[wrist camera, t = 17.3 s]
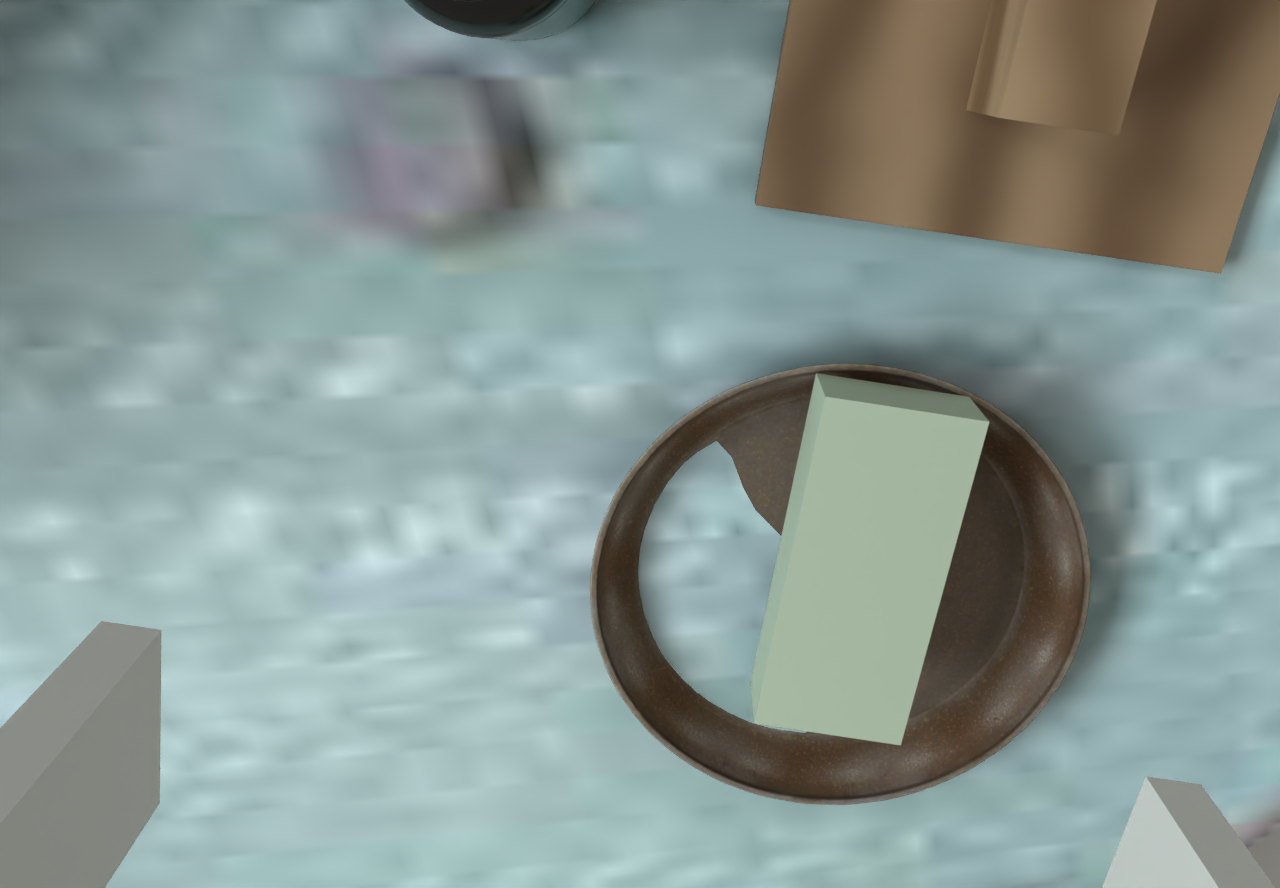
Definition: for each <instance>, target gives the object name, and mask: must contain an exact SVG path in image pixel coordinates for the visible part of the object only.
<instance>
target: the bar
mask: <svg viewBox="0 0 1280 888" xmlns="http://www.w3.org/2000/svg"><path fill="white" fill-rule="evenodd" d="M988 425H989V421H988V419H987V418H986V417H985V416H984V414H983V413H982V412H981V411H980V410H979V408H978V407H977V406H976V405H975V403H974V402H973V401H972V400H971V398H970V397H967V396H961V395H954V394H948V393H941V392H935V391H928V390H922V389H915V388H909V387H903V386H896V385H890V384H883V383H877V382H870V381H864V380H857V379H851V378H844V377H838V376H831V375H825V374H818V373H816V376H815V380H814V385H813V390H812V395H811V399H810V404H809V409H808V413H807V418H806V423H805V428H804V432H803V437H802V442H801V446H800V451H799V456H798V460H797V465H796V470H795V475H794V479H793V484H792V489H791V493H790V498H789V503H788V508H787V512H786V517H785V522H784V526H783V531H782V536H781V540H780V545H779V550H778V555H777V559H776V564H775V569H774V573H773V578H772V583H771V588H770V592H769V597H768V602H767V606H766V611H765V616H764V620H763V625H762V630H761V635H760V639H759V644H758V649H757V653H756V658H755V663H754V668H753V672H752V677H751V682H750V686H751V696H752V706H753V716H754V724H761V725H768V726H774V727H781V728H788V729H794V730H801V731H808V732H814V733H821V734H828V735H834V736H841V737H848V738H854V739H861V740H868V741H874V742H881V743H888V744H894V745H901V743H902V739H903V735H904V732H905V728H906V724H907V721H908V717H909V714H910V710H911V706H912V703H913V699H914V695H915V692H916V688H917V684H918V681H919V677H920V673H921V670H922V666H923V662H924V659H925V655H926V651H927V648H928V644H929V641H930V637H931V633H932V630H933V626H934V622H935V619H936V615H937V611H938V608H939V604H940V600H941V597H942V593H943V589H944V586H945V582H946V578H947V575H948V571H949V568H950V564H951V560H952V557H953V553H954V549H955V546H956V542H957V538H958V535H959V531H960V527H961V524H962V520H963V516H964V513H965V509H966V506H967V502H968V498H969V495H970V491H971V487H972V484H973V480H974V476H975V473H976V469H977V465H978V462H979V458H980V454H981V451H982V447H983V443H984V440H985V436H986V433H987V429H988Z"/></svg>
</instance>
